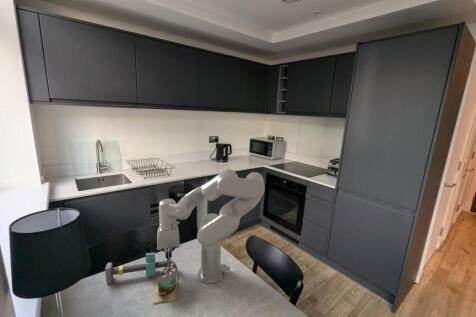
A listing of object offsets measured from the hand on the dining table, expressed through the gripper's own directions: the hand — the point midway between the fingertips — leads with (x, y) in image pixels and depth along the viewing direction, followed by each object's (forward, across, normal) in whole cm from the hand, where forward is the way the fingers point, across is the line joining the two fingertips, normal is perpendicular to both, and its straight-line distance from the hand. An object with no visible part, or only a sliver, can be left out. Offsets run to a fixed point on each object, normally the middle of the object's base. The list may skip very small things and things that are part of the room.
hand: (168, 258), depth 112 cm
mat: (+7, +1, +12) cm, 14 cm away
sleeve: (+6, +8, 0) cm, 10 cm away
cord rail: (+7, +12, 0) cm, 14 cm away
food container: (+7, -1, +12) cm, 14 cm away
